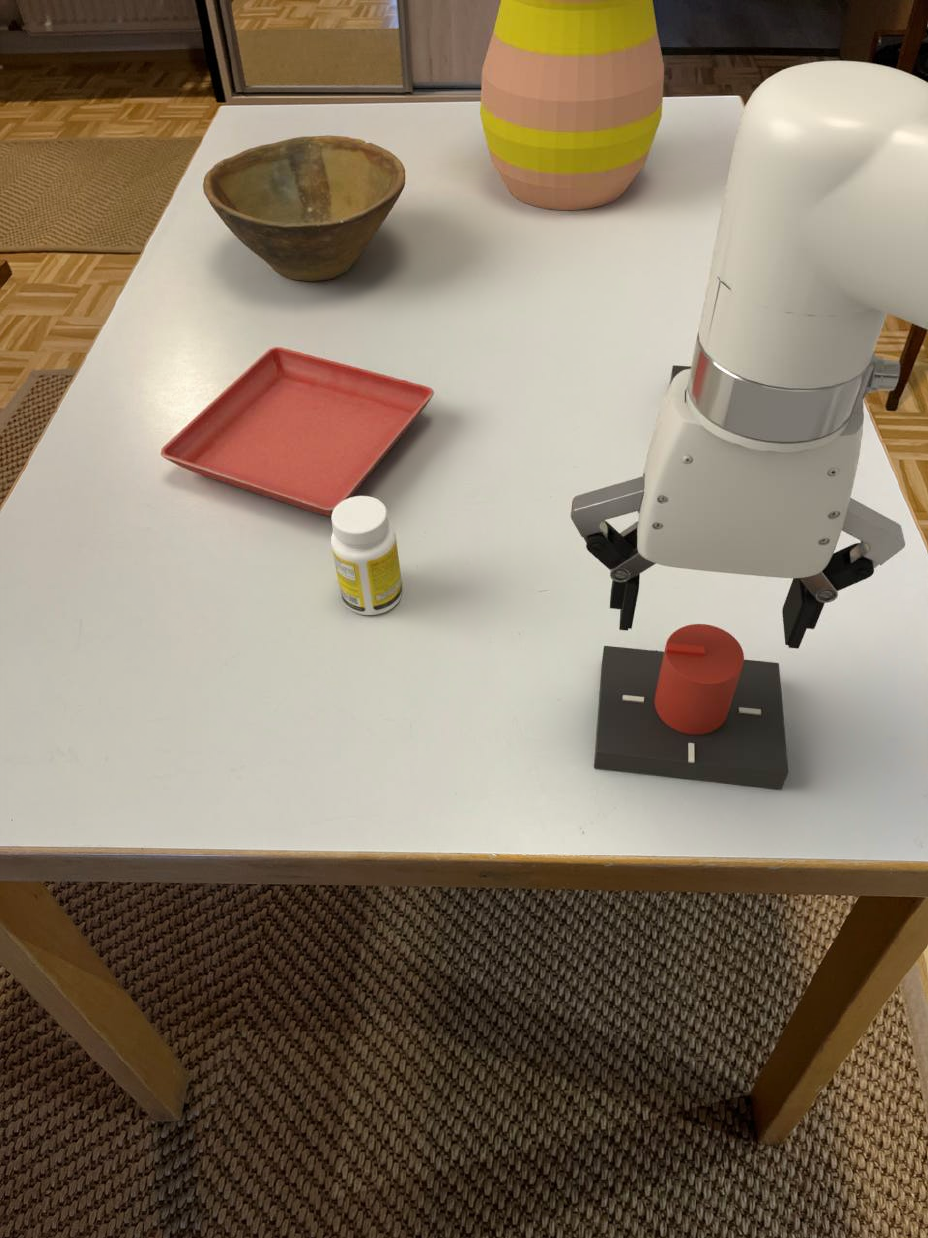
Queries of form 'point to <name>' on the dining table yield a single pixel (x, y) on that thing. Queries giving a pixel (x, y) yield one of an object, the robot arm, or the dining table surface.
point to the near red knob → (698, 678)
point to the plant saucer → (299, 429)
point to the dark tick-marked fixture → (725, 755)
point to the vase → (571, 98)
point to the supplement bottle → (366, 556)
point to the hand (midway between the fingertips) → (706, 621)
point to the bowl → (306, 201)
